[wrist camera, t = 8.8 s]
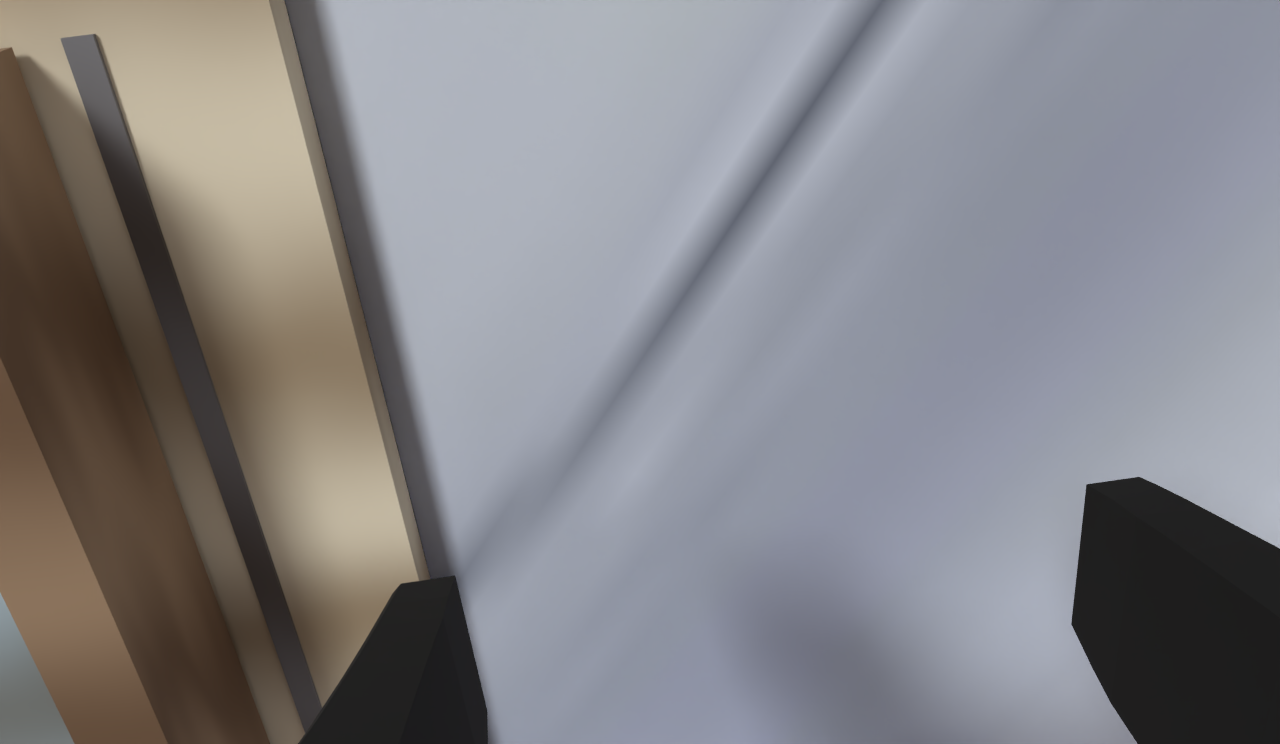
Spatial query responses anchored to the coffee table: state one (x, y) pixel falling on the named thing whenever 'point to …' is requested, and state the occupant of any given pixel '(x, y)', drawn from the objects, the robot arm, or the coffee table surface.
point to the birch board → (233, 316)
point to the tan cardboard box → (90, 502)
